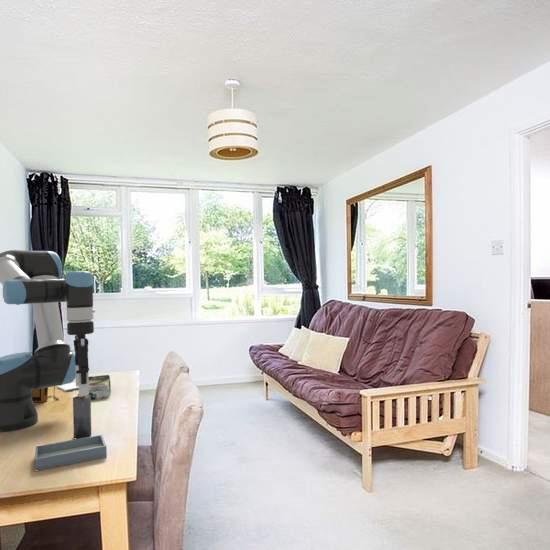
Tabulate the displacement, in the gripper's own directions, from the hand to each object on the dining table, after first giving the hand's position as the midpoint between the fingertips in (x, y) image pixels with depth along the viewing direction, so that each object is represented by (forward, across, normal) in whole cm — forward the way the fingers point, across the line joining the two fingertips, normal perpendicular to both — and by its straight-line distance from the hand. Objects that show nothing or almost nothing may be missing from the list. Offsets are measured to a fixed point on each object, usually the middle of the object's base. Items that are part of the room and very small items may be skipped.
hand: (82, 390), depth 135 cm
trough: (+14, -16, +4) cm, 22 cm away
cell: (+14, 0, 0) cm, 14 cm away
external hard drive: (+14, +70, 0) cm, 72 cm away
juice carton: (+14, +54, -10) cm, 56 cm away
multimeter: (+14, +56, +11) cm, 58 cm away
